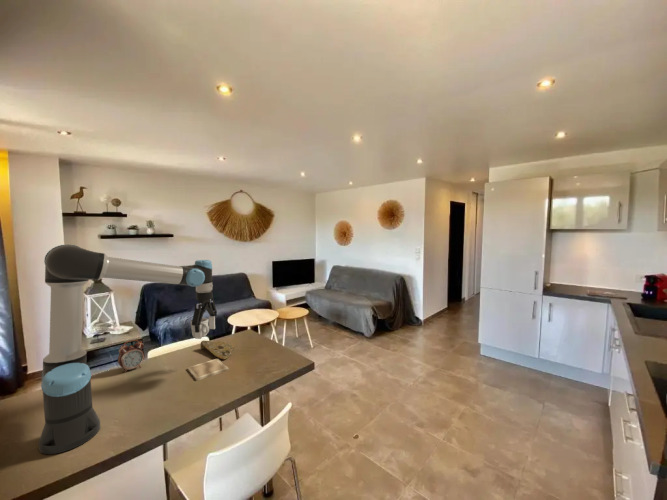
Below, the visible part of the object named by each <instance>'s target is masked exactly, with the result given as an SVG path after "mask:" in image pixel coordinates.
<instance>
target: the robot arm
mask: <svg viewBox="0 0 667 500" xmlns="http://www.w3.org/2000/svg"><path fill="white" fill-rule="evenodd" d="M44 266H45V267H44V268H45V270H44V271H45V272H44V284H46V285H47V286H49V288H50V306H49V307H50V308H49V310H50V311H49V312H50V313H49V344H48V345H49V350H48V354H47V355H46V356H44V357H43V358H42V359H43V360H42V373H41V385H40V386H41V391H42V401H43V410H44V411H43V412H44V413H43V415H44V425H43V429H42V432H41V434H40V438H39V440H38V450H39V452H40V453H42V454H44V455H53V454H56V455H57V454H59V453H64V452H67V451H70V450H72V449H75V448H77V447H80V446H81V445H84V444H85V443H86V442H88V441H89V440H91V439H92V438H94V437H95V436H96V435H97V434H98V433H99V432H100V429H101V420H100V417H99V416H98V414H97V412H96V410H95V409H94V407H93V397H92V396H93V395H92V380H91V379H92V378H91V377H92V372H91V370H90V369H91V368H90V366H89V365H88V364H87V356H88V355H87V353H88V352H87V350H85V349H84V348H82V344H83V343H82V336H83V333H82V332H83V306H84V305H83V302H84V301H83V299H84V298H83V297H84V285H85V284H86V283H88V282H89V280H92V281H100V280H101V279H114V280H123V281H124V280H127V281H137V282H138V281H139V282H147V283H148V282H149V283H157V284H158V283H160V284H170V285H171V284H173V285H180V286H189V287H193V288H194V287H195V299H196V301H198V303H195V304H194V311H193V317H192V325H193V326H195V337H194V339H197V340H198V339H199V340H201V339H203V337H202V334H201V325H200V323H201V320H202V318H204V314H205V312H206V311H207V313H208V315H209V316H208V320H209V321H208V326H209V330H215V329H216V317H218V316H217V315H218V310H217V308H216V304H215V298H214V297H213V296H214V294H213V286H214V285H213V264H212V261H211V260H209V259H196V260H195V261H194V264H190V265H179V266H178V265H172V264H165V263H157V262H148V261H142V260H141V261H140V260H136V259H135V260H134V259H127V258H119V257H113V256H108V255H107V254H106V253H104V252H99V251H97V252H96V251H92V250H89V249H86V248H83V247H80V246H77V245H75V244H60V245H57V246H54V247H52V248H51V249H49V250H48V251H47V253H46V254H45V256H44Z"/></svg>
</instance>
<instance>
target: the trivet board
mask: <svg viewBox="0 0 667 500" xmlns="http://www.w3.org/2000/svg"><path fill="white" fill-rule="evenodd" d="M187 371H188V372H189V373H190V375H191V376H192V377H193V378H194V380H195V381H200V380H203V379H206V378H209V377H212V376H216V375H219V374H220V373H223V372H226V371H229V367H228V366H227V365H226V364H224V363H223V362H222V361H221V360H220V358H218V357H217V358H215V359H211V360H208V361H204V362H201V363H198V364H194V365H192V366H191V365H190V366H188V367H187Z"/></svg>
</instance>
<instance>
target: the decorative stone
mask: <svg viewBox="0 0 667 500" xmlns="http://www.w3.org/2000/svg"><path fill="white" fill-rule="evenodd" d="M234 348H235V345H234V344H232V343H228V342H225V341H223V340H222V341H221V340H213V341H212V340H211V341H209V340H201V342H200V349H201V350H205V349H207V350H208V351H209V352H210V354H212V355H214V357H217V358H218V359H219V360H220V359H221V360H226V359H228V358H229V357H230V356H231V355H232V353H233V349H234Z"/></svg>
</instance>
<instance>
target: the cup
mask: <svg viewBox="0 0 667 500" xmlns="http://www.w3.org/2000/svg"><path fill="white" fill-rule="evenodd" d="M192 320H193V319H192ZM192 320H190V322H189V323H190V329H191V334H192V337H193V338H195V326H193V325H192ZM200 325H201V334H202V338H204V337H205V336H207V335H208V334H209V332H210V329H209V317H208V318H207V317H202V320H201V323H200Z"/></svg>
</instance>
